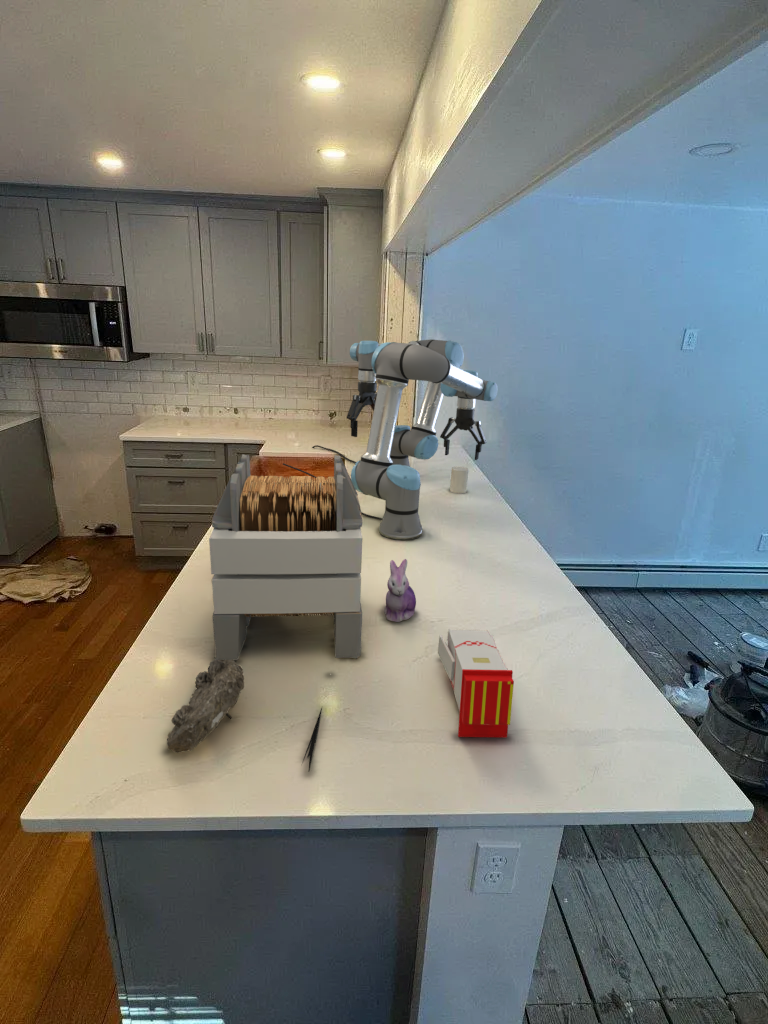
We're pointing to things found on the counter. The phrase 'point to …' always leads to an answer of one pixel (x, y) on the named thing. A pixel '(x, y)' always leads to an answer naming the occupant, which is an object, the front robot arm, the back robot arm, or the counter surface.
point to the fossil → (206, 705)
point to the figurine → (399, 594)
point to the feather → (313, 740)
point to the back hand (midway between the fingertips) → (365, 434)
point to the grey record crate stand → (286, 555)
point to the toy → (478, 682)
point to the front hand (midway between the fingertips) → (461, 457)
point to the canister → (459, 479)
